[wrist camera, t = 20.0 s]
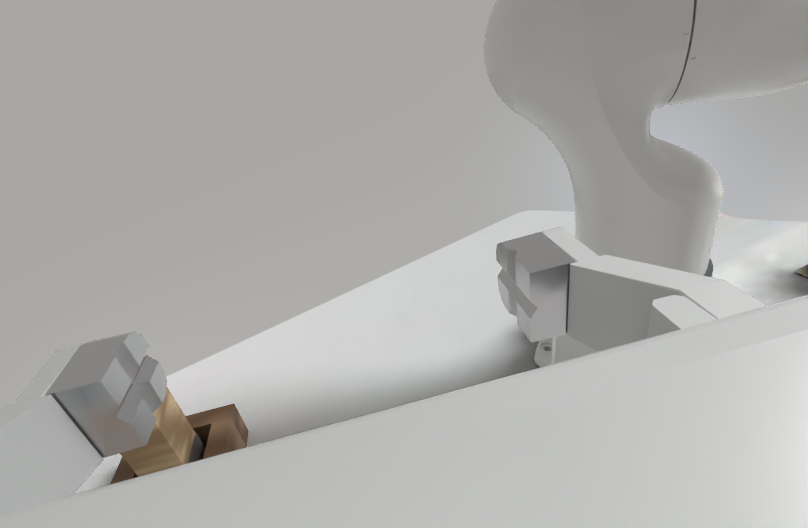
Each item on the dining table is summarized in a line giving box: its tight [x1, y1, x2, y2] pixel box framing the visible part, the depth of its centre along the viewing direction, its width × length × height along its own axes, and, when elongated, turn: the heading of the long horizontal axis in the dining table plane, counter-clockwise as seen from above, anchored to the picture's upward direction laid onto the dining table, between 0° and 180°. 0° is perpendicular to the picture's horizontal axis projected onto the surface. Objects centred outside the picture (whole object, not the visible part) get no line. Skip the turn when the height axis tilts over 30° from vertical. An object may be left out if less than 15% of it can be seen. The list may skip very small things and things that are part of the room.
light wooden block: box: [120, 355, 206, 477], centre depth 40 cm, size 4×4×16 cm
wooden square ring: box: [111, 404, 248, 484], centre depth 43 cm, size 10×10×4 cm
